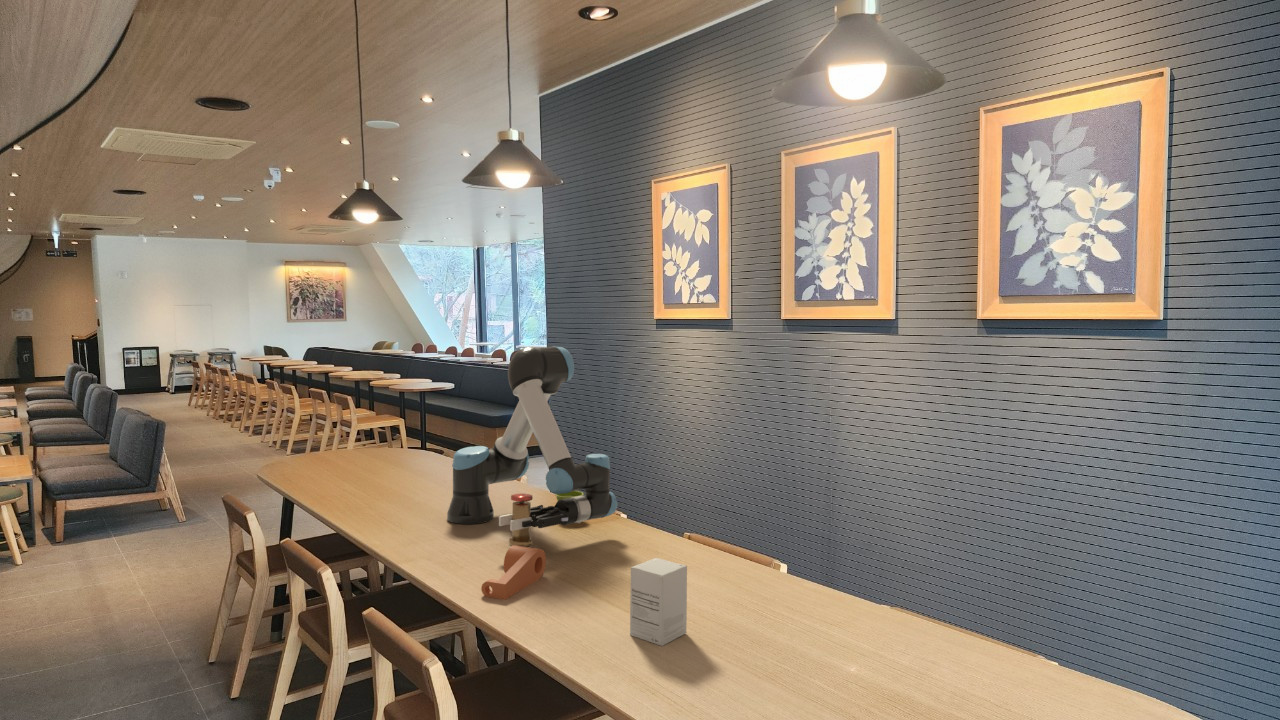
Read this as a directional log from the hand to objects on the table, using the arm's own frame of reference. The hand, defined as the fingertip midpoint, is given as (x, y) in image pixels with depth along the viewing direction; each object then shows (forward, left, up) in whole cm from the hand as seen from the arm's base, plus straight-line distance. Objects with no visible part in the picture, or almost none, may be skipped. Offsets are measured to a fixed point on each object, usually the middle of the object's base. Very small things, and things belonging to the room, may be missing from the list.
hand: (505, 523), depth 217 cm
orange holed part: (+19, -10, -11) cm, 24 cm away
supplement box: (+65, -4, -10) cm, 66 cm away
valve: (0, +5, -7) cm, 9 cm away
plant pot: (-23, +40, -10) cm, 48 cm away
